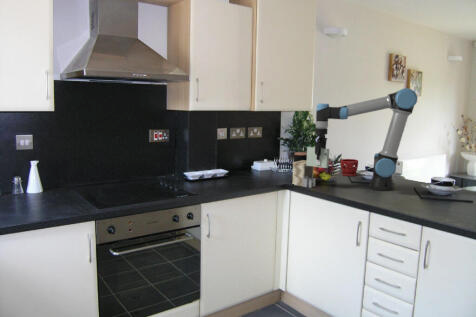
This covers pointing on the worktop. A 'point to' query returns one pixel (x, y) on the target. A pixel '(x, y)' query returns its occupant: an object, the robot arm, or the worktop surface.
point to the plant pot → (349, 167)
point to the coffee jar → (300, 156)
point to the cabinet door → (312, 156)
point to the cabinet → (301, 172)
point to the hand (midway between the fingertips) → (319, 164)
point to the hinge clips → (308, 182)
